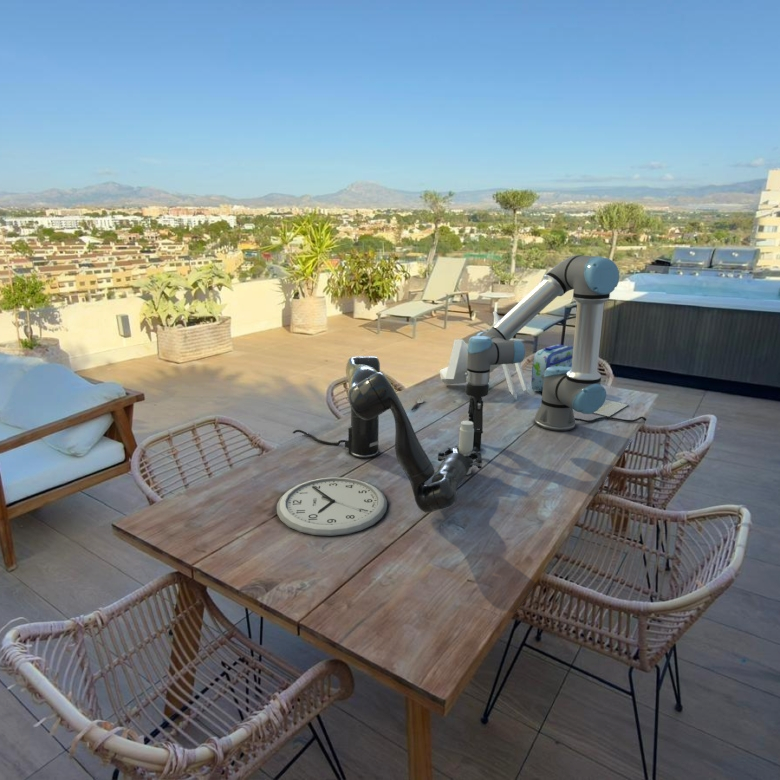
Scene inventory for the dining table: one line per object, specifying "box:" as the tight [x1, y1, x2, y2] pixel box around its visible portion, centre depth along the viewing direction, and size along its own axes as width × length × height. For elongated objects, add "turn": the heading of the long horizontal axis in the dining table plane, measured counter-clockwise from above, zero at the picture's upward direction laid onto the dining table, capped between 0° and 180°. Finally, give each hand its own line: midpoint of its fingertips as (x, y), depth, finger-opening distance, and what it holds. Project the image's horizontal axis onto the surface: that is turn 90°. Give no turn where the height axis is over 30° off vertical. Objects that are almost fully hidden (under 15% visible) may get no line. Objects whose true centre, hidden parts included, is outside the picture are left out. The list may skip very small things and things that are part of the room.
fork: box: [410, 395, 426, 411], centre depth 223 cm, size 3×16×2 cm, turn 160°
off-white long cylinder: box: [458, 420, 474, 476], centre depth 162 cm, size 4×4×16 cm
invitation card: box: [593, 399, 629, 417], centre depth 226 cm, size 21×1×15 cm
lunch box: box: [530, 344, 573, 392], centre depth 247 cm, size 26×11×21 cm, turn 134°
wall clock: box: [276, 476, 388, 537], centre depth 142 cm, size 30×2×30 cm
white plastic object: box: [438, 310, 531, 400], centre depth 245 cm, size 37×45×31 cm
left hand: (467, 448), depth 164 cm, fingers closed on off-white long cylinder, 4 cm apart
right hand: (473, 442), depth 180 cm, fingers open, 12 cm apart
